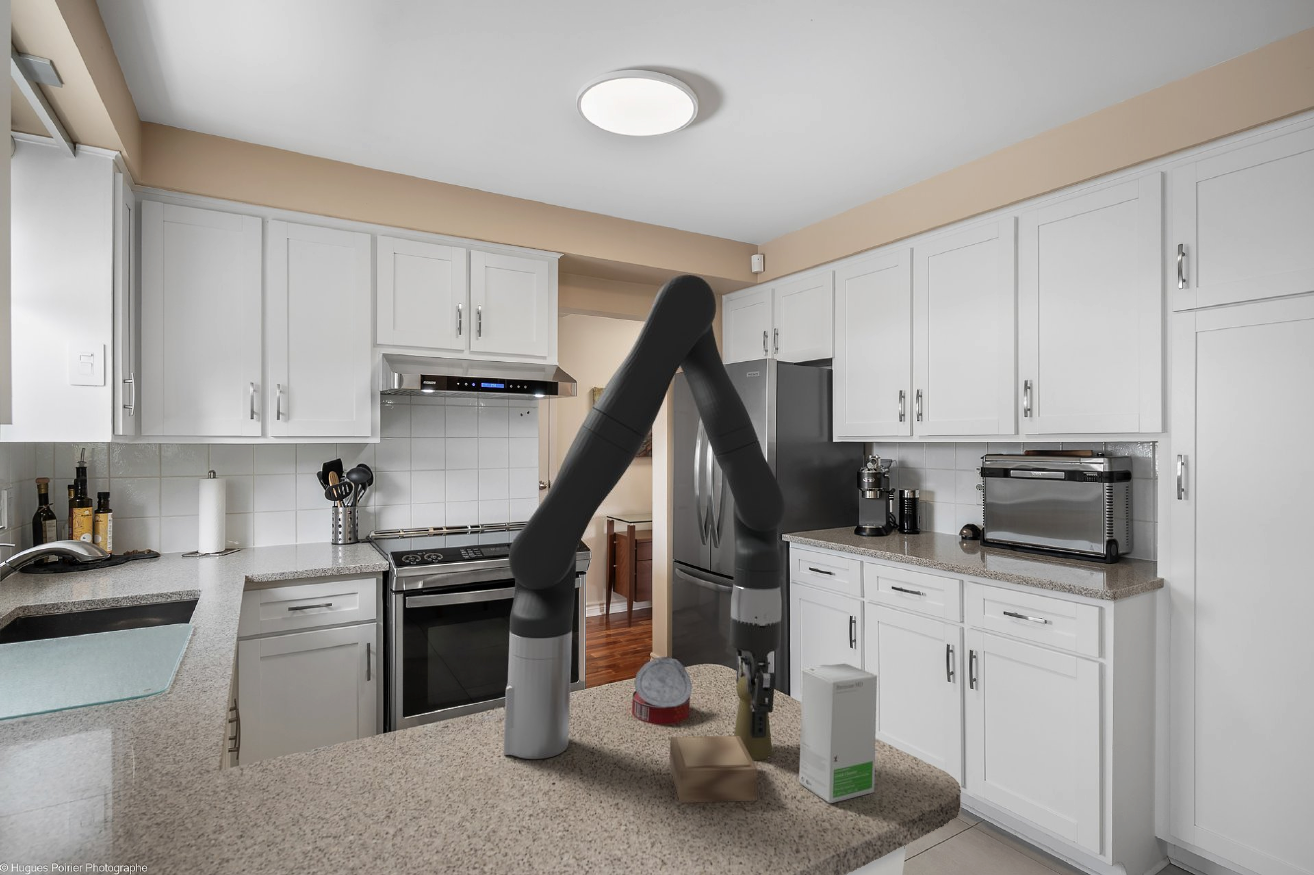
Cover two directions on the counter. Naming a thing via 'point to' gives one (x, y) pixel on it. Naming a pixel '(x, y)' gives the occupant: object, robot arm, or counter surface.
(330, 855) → the counter surface
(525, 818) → the counter surface
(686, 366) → the robot arm
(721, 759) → the base
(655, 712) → the canned food
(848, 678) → the skincare box
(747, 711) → the olive knobbed peg
